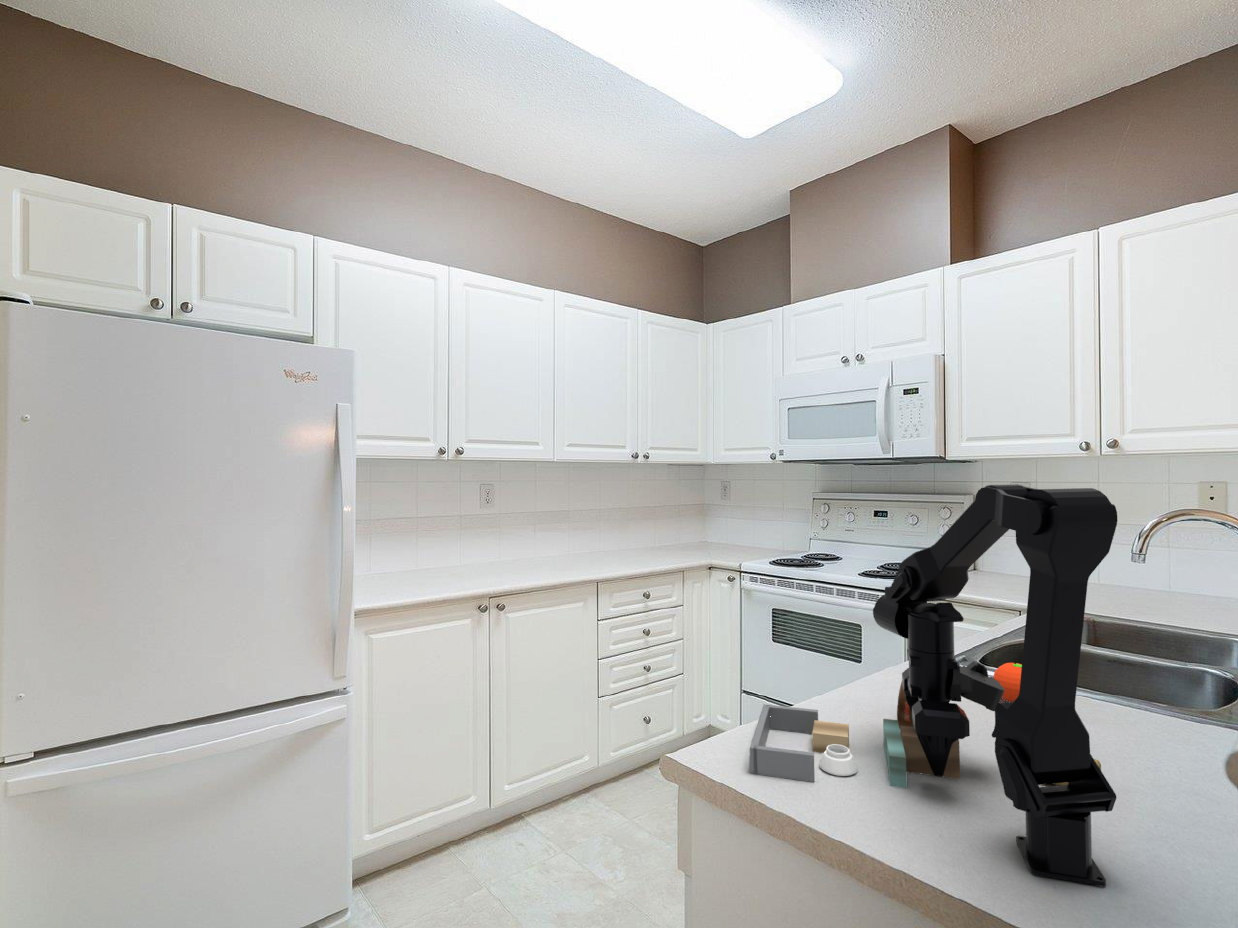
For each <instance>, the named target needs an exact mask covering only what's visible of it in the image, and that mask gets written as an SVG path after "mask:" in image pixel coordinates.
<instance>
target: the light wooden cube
mask: <svg viewBox="0 0 1238 928" xmlns="http://www.w3.org/2000/svg"><path fill="white" fill-rule="evenodd" d="M811 735H812V752H813V753H820V754H823V753H824V752H825V751H826V748H827V746H828V745H832V744H838V745H843V746H846V747H847V748H849V749H850V725H849V724H848V723H841V722H835V721H834V722H833V721H832V722H831V721H823V720H818V721H817V720H815V721H814V727H813V732H812V734H811Z"/></svg>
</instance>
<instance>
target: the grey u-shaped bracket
mask: <svg viewBox="0 0 1238 928" xmlns="http://www.w3.org/2000/svg"><path fill="white" fill-rule="evenodd" d="M770 716H771V717H770ZM815 720H817V721H819V709H815V708H814V709H812V708H804V707H792V706H785V705H783V706H782V705H773V704H763V705H762V708H761V710H760V714H759V717H758V720H757V723H756V727H755V730H754V733H753V736H752V739H751V742H750V745H749V773H750V774H753V775H761V776H767V777H775V778H784V779H790V780H798V781H804V782H812V783H815V780H816V779H815V773H816V772H815V752H813V751H812V752H811V751H805V750H804V751H803V750H795V749H786V748H778V747H772V746H766V743H767V740H768V736H769V733H770V730H777V731H786V732H794V733H802V734H809V735H810V734H811V735H812V732H813V727H814V721H815Z"/></svg>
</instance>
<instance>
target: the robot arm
mask: <svg viewBox="0 0 1238 928" xmlns="http://www.w3.org/2000/svg"><path fill="white" fill-rule="evenodd" d="M1117 525H1118V511H1117V507H1116V505H1115V504H1113V503H1112V502H1111V501H1110V500H1109V498H1108V496H1106V494H1104V493H1103V492H1102V491H1101V490H1098V489H1096V488H1093V487H1092V488H1091V487H1090V488H1089V487H1080V488H1079V487H1077V488H1041V489H1040V488H1034V487H1029V486H1024V485H1022V484H1018V483H1017V484H990V485H989V484H988V485H986V486H983V487H981V488H980V489H978V490H977V491H976V494H975V499H974V500H973V502H972V503H970V505H969V506H968V507H967V508H966V509H965V510H964V511H963V512H962V514H961V515H960V516H959V517H958V518H957V519H956V520H955V521H954V522H953V523H952V524H951V526H950V527H949V528H948V529H947V530H946V531H945V532H944V533H943V534H942V536H941V537H940V538H938V540H937V541H936V542H935V543H934V544H932V545H931V546H929V547H926V548H923V549H920V550H918V551H915V552H913V553H912V554H910V555H909V556H908V557H906V558H905V559H903V560H902V561H901V563H900V565H899V567H898V569H897V572H896V575H895V577H894V579H893V581H892V582H891V585H890V586H885V587H884V594H883V595H881V596H880V597H879V598H878V599H877V601H876V602H875V604H874V607H873V608H872V615H873V619H874V621H875V623H876V625H878V627H880V628H882V629H884V630H887V631H888V632H891V633H893V634H895V635H897V636H899V637H902V638H904V639H907V641H908V646H907V647H908V649H907V648H906V656H907V659H908V668H906V669H905V670H904V671H903V672H902V673H901V682H902V686H903V689H904V694H905V698H906V700H907V703H908V705H909V708H910V710H911V713H912V718H913V726H914V729H915V732H916V734H917V736H918V739H919V741H920V743H921V746H922V748H923V751H924V753H925V755H926V758H927V760H928V762H929V765H930V767H931V770H932V772H933V774H934V775H933V776H935V777H937V778H938V777H940V778H944V777H943V775H944V771H945V768H946V764H947V760H948V757H949V753H950V750H951V747H952V744H953V743H954V742H955V741H957V740H959V741H960V740H964V739H965V738H967V737H970V736H971V734H970V732H971V731H970V720H969V717H968V716H967V713H966V712H965V710H963V708H961V707H960V705H958V704H957V703H955V702H959V703H961V702H962V698H964V699H965V700H969V701H971V702H973V703H976V704H978V705H980V706H982V707H985V708H986V710H989V711H992V712H994V729H993V731H992V733H991V737H992V738H994V739H995V741H994V753H995V759H996V763H997V768H998V772H999V774H1000V775H999V777H1000V779H1001V783H1002V786H1003V790H1004V791H1003V793H1004V795H1005V797H1006V798H1008V799H1009V800H1010V801H1012V806H1013V807H1014V808H1015V809H1016V810H1019V811H1022V812H1025V836H1023V835H1018V836H1016V837H1015V841H1016V844H1017V846H1018V848H1019V850H1020V852H1021V854H1022V856H1023V859H1024V861H1025V864H1026V865H1027V867H1028V869H1029V871H1030V872H1031V874H1033V875H1036V876H1039V877H1040V876H1041V877H1046V878H1047V877H1048V878H1052V879H1053V878H1054V879H1060V880H1065V881H1071V882H1077V883H1084V884H1090V885H1095V886H1101V887H1105V886H1106V885H1107V879H1106V878H1105V876H1104V874H1103V873H1102V871H1101V870H1100V867H1098V865H1097V863H1096V862H1095V861H1094V858H1093V849H1092V848H1093V847H1092V843H1093V841H1092V817H1091V816H1092V813H1094V812H1095V813H1096V812H1105V813H1106V812H1107V813H1108V812H1112V811H1113V809H1114V806H1115V803H1116V800H1117V799H1118V798H1117V794H1116V793H1115V791H1114V789H1113V787H1112V786H1111V784H1110V783H1109V782H1108V780H1107V778H1106V777H1105V775H1104V773H1103V771H1102V769H1101V770H1100V768H1099V767H1098V765H1097V764H1096V762H1095V760H1096V759H1095V760H1094V757H1093V756H1092V754H1091V742H1090V741H1091V740H1090V733H1089V731H1088V730H1087V728H1086V726H1085V724H1084V723H1083V721H1082V719H1081V717H1080V715H1079V714H1078V712H1077V710H1076V700H1077V699H1076V698H1077V687H1078V680H1079V679H1078V678H1079V671H1080V670H1079V668H1080V660H1081V649H1082V641H1083V640H1082V639H1083V631H1084V621H1085V613H1086V611H1085V610H1086V603H1087V601H1086V600H1087V592H1088V585H1089V583H1088V582H1089V579H1090V576H1091V574H1093V573H1094V571H1095V570H1096V569H1097V567H1098V566H1099V565H1100V564H1101V562H1103V561H1104V559H1105V558H1106V557H1107V556H1108V554H1109V553H1110V550H1111V546H1112V543H1113V540H1114V536H1115V533H1116V529H1117ZM1009 530H1010V531H1011V530H1012V531H1015V543H1016V545H1017V548H1018V549H1019V551H1020V553H1021V555H1022V557H1023V558H1024V560H1025V562H1026V563H1027V565H1028V567H1029V570H1030V571H1029V582H1028V596H1027V605H1026V606H1027V607H1026V614H1025V615H1026V616H1025V617H1026V618H1025V625H1024V626H1025V627H1024V638H1023V648H1022V649H1023V650H1022V660H1021V662H1022V663H1021V664H1022V670H1021V681H1020V692H1019V695H1018V697H1017V698H1016V699H1015V701H1014V702H1008V701H1006V702H1001V700H1002V699H1003V698H1002V696H1003V693H1004V691H1005V690H1004V688H1003V687H1002V685H1001V684H1000V683H999V682H998V681H997V680H995V679H994V678H993V676H989V673H988V669H987V666H986V665H985V664H983V663H980V662H978V661H975V660H973V661H972V662H970V663H969V664H967V665H962V666H961V665H960V663H959V661H957V659H956V656H955V625H954V623H959V622H960V623H961V622H964V616H963V615H962V613H961V612H960V611H959V610H957V609H956V607H954V605H953V603H952V602H951V601H950V602H944V601H946V600H947V599H955V598H956V597H958V596H959V595H960V594H961V592H962V590H963V589H964V588H965V586H966V585H967V583H968V582H969V579H970V578H969V572H968V571H969V569H970V567H971V566H972V565H973V564H974V563H976V562H977V560H979V559H980V558H982V556H983V555H984V554H985V553H986V552H987V551H988V550H989V549H991V547H992V546H993V545H994V544H995V543H997V541H999V540H1000V539H1001V538H1002V537H1003V536H1004V535H1005V534H1006V533H1007V532H1009ZM941 601H942V602H941ZM934 602H937V603H934ZM908 687H909V690H908ZM952 702H953V703H952ZM1063 782H1068V784H1069V785H1059V786H1058V785H1053V784H1052V783H1063ZM1050 784H1051V786H1050ZM1039 785H1048V786H1039Z"/></svg>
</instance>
